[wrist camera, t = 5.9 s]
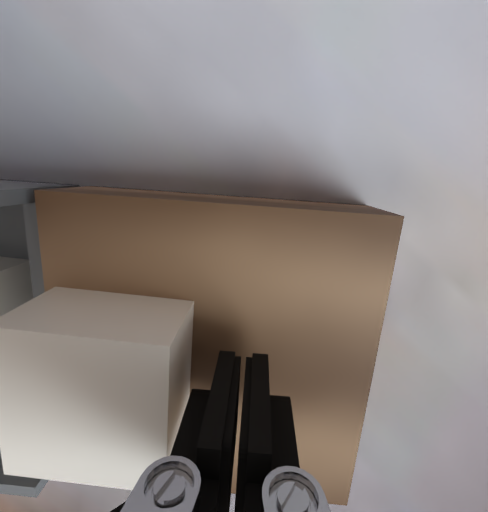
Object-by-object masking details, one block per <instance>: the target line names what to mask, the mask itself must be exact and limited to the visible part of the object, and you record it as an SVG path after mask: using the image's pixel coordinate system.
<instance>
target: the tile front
mask: <svg viewBox="0 0 488 512" xmlns="http://www.w3.org/2000/svg"><path fill="white" fill-rule="evenodd" d="M193 314H194V301H189V300H179V299H170V298H160V297H150V296H141V295H131V294H122V293H112V292H103V291H93V290H84V289H74V288H64V287H54V288H52V289H50V290H48V291H46V292H44V293H43V294H41V295H39V296H37V297H35V298H33V299H32V300H30V301H28V302H26V303H24V304H22V305H21V306H19V307H17V308H15V309H13V310H11V311H10V312H8V313H6V314H4V315H2V316H0V451H1V458H2V465H3V472H4V474H5V475H13V476H21V477H29V478H37V479H45V480H54V481H62V482H70V483H78V484H86V485H94V486H102V487H110V488H118V489H126V490H133V488H134V486H135V485H136V483H137V481H138V479H139V478H140V476H141V475H142V473H143V472H144V471H145V469H146V468H147V467H148V466H149V465H151V464H152V463H153V462H154V461H156V460H159V459H161V458H163V457H167V456H170V454H171V451H172V448H173V445H174V442H175V439H176V436H177V433H178V430H179V427H180V424H181V421H182V417H183V414H184V411H185V408H186V405H187V402H188V399H189V394H190V374H191V354H192V334H193Z"/></svg>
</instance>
